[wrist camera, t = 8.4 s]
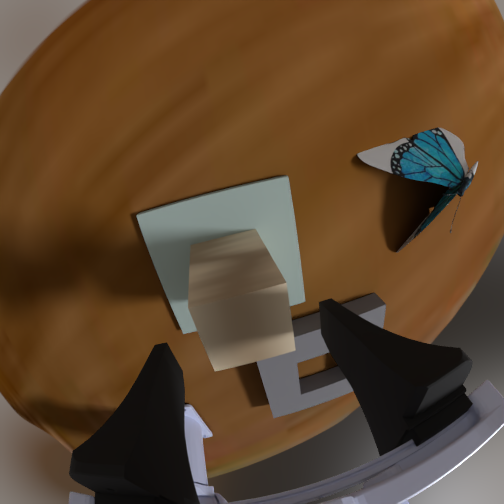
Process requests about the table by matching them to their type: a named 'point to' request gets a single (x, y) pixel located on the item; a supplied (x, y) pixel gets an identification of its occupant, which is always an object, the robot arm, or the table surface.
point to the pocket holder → (309, 346)
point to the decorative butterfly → (426, 165)
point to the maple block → (239, 301)
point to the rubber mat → (222, 235)
